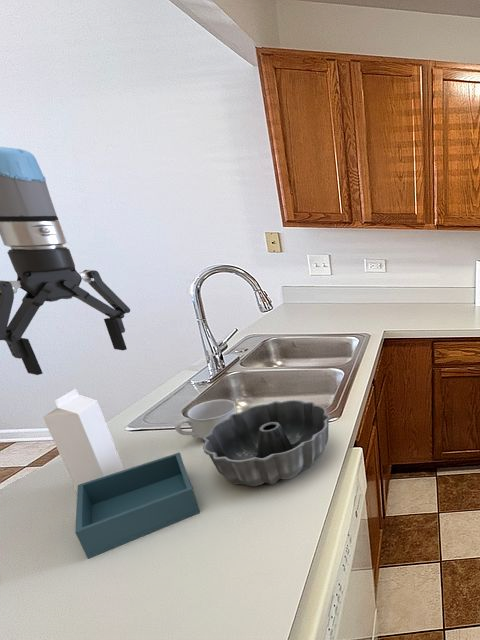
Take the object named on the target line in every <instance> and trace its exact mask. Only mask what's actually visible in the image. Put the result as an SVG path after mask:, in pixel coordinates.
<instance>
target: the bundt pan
mask: <svg viewBox="0 0 480 640" xmlns="http://www.w3.org/2000/svg"><path fill="white" fill-rule="evenodd" d="M330 420H331V416H330V415H329V414H328V412H327V408H326V407H325V406H323V405H318V404H316V403H315V402H314V401H303V400H301V399H290V400H285V401H277V400H275V401H271V402H268V403H264V404H256V405H253V406H250V407H247V408H245V409H243V410H241V411H239V412H237V413H235V414H231V415H230V416H229V417H228V418H227V419H225V420H223V421H221V422H219V423H217V424H216V425H214V426H213V427H212V428H211V430H210V433H209V434H208V435H206V436H205V437H204V438H203V439H202V440H203V442H204V443H203V445H202V450H203V452H204V453H205V454H206V455H207V456H209V458H210V460H211V462H212V464H213V465H214V468H215V469H216V470H217V472H218V473H219V474H220V475H222V476H224V477H225V479H226V480H227V481H228V482H229V483H231V484H235V485H240V484H244V485H245V486H250V487H255V486H260V485H263V484H264V483H267V484H269V485H271V486H273V485H275V484H276V483H277V482H278V481H279V480H289V479H293V478H295V477H296V476H297V475H298V474H300V473H301V471H308V470H309V469H311V468H312V467H313V464H314V462H316V461H318V460H319V459H320V458H321V457H322V456H323V454H324V452H325V448H326V445H327V444H328V441H329V427H330V426H329V424H330V423H329V422H330Z"/></svg>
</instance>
